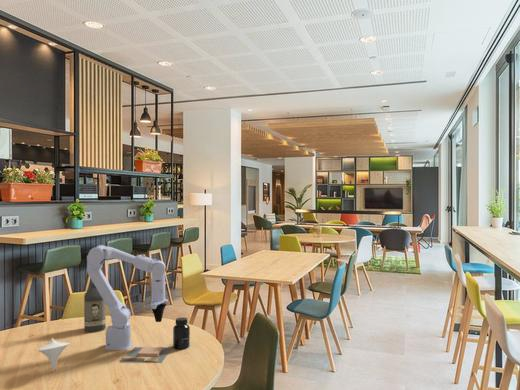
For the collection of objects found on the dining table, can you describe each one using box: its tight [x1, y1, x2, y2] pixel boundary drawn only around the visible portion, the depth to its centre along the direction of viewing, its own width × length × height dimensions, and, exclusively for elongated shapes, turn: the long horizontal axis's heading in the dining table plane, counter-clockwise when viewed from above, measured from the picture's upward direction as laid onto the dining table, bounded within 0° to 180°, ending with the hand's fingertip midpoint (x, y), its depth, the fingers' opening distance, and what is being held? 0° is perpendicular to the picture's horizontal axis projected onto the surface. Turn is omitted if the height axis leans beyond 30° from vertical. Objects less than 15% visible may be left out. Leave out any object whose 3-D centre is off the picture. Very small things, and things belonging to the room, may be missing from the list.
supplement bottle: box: [172, 317, 191, 351], centre depth 170 cm, size 7×7×12 cm
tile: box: [138, 346, 163, 357], centre depth 163 cm, size 8×2×7 cm
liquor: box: [83, 279, 107, 333], centre depth 196 cm, size 9×9×30 cm
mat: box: [119, 346, 174, 364], centre depth 162 cm, size 16×16×1 cm
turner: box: [120, 355, 160, 362], centre depth 156 cm, size 14×4×1 cm, turn 87°
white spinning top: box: [36, 337, 71, 373], centre depth 147 cm, size 10×11×12 cm
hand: (158, 321), depth 174 cm, fingers closed
